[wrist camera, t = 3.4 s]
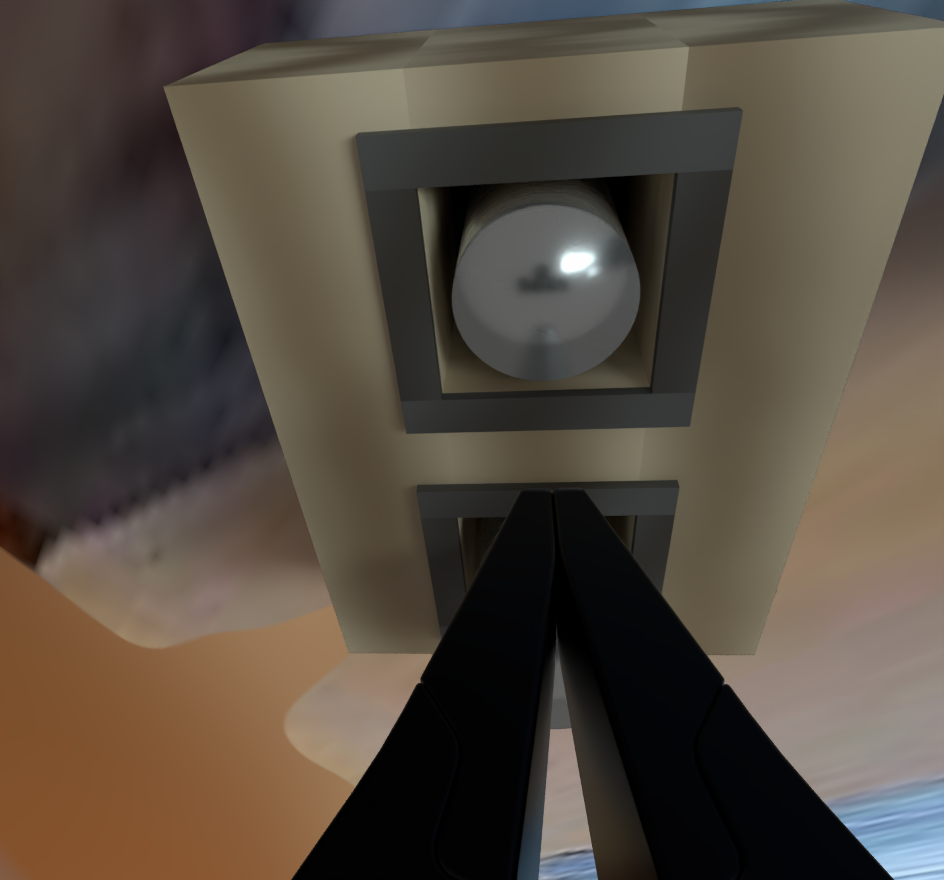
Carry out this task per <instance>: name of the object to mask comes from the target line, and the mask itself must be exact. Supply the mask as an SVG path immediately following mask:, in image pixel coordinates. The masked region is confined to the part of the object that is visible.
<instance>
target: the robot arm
mask: <svg viewBox="0 0 944 880" xmlns="http://www.w3.org/2000/svg"><path fill="white" fill-rule="evenodd" d="M556 632H557V644H558V652H559V659H560V666H561V671H562V677H563V683H564V688H565V694H566V700H567V706H568V711H569V717H570V723H571V728H572V734H573V740H574V745H575V751H576V757H577V762H578V768H579V774H580V779H581V785H582V791H583V797H584V802H585V808H586V814H587V819H588V825H589V831H590V836H591V842H592V848H593V853H594V859H595V865H596V870H597V876H598V880H894V879H893V878H892V877H891V876H890V875H889V874H888V872H887V871H886V870H885V869H884V868H883V867H882V866H881V865H880V864H879V863H878V861H877V860H876V859H875V858H874V857H873V856H872V855H871V854H870V853H869V852H868V850H867V849H866V848H865V847H864V846H863V845H862V844H861V843H860V842H859V840H858V839H857V838H856V837H855V836H854V835H853V834H852V833H851V832H850V831H849V829H848V828H847V827H846V826H845V825H844V824H843V823H842V822H841V821H840V820H839V818H838V817H837V816H836V815H835V814H834V813H833V812H832V811H831V810H830V808H829V807H828V806H827V805H826V804H825V803H824V802H823V801H822V800H821V798H820V797H819V796H818V795H817V794H816V793H815V792H814V790H813V789H812V788H811V787H810V786H809V785H808V783H807V782H806V781H805V780H804V779H803V778H802V777H801V775H800V774H799V773H798V772H797V771H796V770H795V769H794V767H793V766H792V765H791V764H790V763H789V762H788V760H787V759H786V758H785V757H784V756H783V755H782V753H781V752H780V751H779V750H778V748H777V747H776V746H775V745H774V743H773V742H772V741H771V739H770V738H769V737H768V736H767V734H766V733H765V732H764V731H763V729H762V728H761V727H760V725H759V724H758V723H757V722H756V720H755V719H754V718H753V717H752V715H751V714H750V713H749V711H748V710H747V709H746V707H745V706H744V705H743V703H742V702H741V700H740V699H739V698H738V696H737V695H736V694H735V692H734V691H733V690H732V688H731V687H730V686H729V685H728V684H724V678H723V676H722V675H721V674H720V672H719V671H718V670H717V668H716V667H715V666H714V664H713V663H712V662H711V660H710V659H709V658H708V656H707V655H706V653H705V652H704V651H703V649H702V648H701V647H700V645H699V644H698V643H697V641H696V640H695V639H694V637H693V636H692V635H691V633H690V632H689V630H688V629H687V628H686V626H685V625H684V624H683V622H682V621H681V620H680V618H679V617H678V616H677V614H676V613H675V612H674V610H673V609H672V607H671V606H670V605H669V603H668V602H667V601H666V599H665V598H664V597H663V595H662V594H661V593H660V591H659V590H658V589H657V587H656V586H655V585H654V583H653V582H652V580H651V579H650V578H649V576H648V575H647V574H646V572H645V571H644V570H643V568H642V567H641V566H640V564H639V563H638V562H637V560H636V559H635V557H634V556H633V555H632V553H631V552H630V551H629V549H628V548H627V547H626V545H625V544H624V543H623V541H622V540H621V539H620V537H619V536H618V534H617V533H616V532H615V530H614V529H613V528H612V526H611V525H610V524H609V522H608V521H607V520H606V518H605V517H604V516H603V514H602V513H601V511H600V510H599V509H598V507H597V506H596V505H595V503H594V502H593V501H592V499H591V498H590V497H589V495H588V494H587V493H586V491H585V490H584V489H582V488H556V489H554V490H553V492H551V490H550V489H548V488H532V489H523V490H521V491H520V493H519V494H518V496H517V498H516V500H515V502H514V504H513V505H512V507H511V509H510V511H509V513H508V515H507V517H506V519H505V520H504V522H503V524H502V526H501V528H500V530H499V532H498V534H497V535H496V537H495V539H494V541H493V543H492V545H491V547H490V549H489V550H488V552H487V554H486V556H485V558H484V560H483V562H482V564H481V565H480V567H479V569H478V571H477V573H476V575H475V577H474V579H473V580H472V582H471V584H470V586H469V588H468V590H467V592H466V594H465V595H464V597H463V599H462V601H461V603H460V605H459V607H458V609H457V610H456V612H455V614H454V616H453V618H452V620H451V622H450V624H449V625H448V627H447V629H446V631H445V633H444V635H443V637H442V639H441V640H440V642H439V644H438V646H437V648H436V650H435V652H434V654H433V655H432V657H431V659H430V661H429V663H428V665H427V667H426V669H425V670H424V672H423V674H422V676H421V678H420V681H421V683H418V684H417V685H416V687H415V689H414V690H413V692H412V694H411V696H410V698H409V700H408V702H407V704H406V705H405V707H404V709H403V711H402V713H401V714H400V716H399V718H398V720H397V721H396V723H395V725H394V727H393V728H392V730H391V732H390V734H389V735H388V737H387V739H386V740H385V742H384V744H383V746H382V747H381V749H380V751H379V752H378V754H377V755H376V757H375V758H374V760H373V761H372V763H371V764H370V766H369V767H368V769H367V770H366V772H365V774H364V775H363V777H362V778H361V780H360V781H359V783H358V784H357V786H356V787H355V789H354V790H353V792H352V793H351V795H350V796H349V798H348V799H347V800H346V802H345V803H344V805H343V806H342V808H341V809H340V810H339V812H338V813H337V815H336V816H335V818H334V819H333V821H332V822H331V823H330V825H329V826H328V828H327V829H326V831H325V832H324V834H323V835H322V836H321V838H320V839H319V840H318V842H317V843H316V845H315V846H314V848H313V849H312V851H311V852H310V853H309V855H308V856H307V858H306V859H305V861H304V862H303V863H302V865H301V866H300V868H299V869H298V871H297V872H296V873H295V875H294V876H293V878H292V879H291V880H538V877H539V865H540V852H541V840H542V827H543V814H544V802H545V789H546V776H547V764H548V751H549V739H550V726H551V713H552V701H553V688H554V676H555V662H556Z"/></svg>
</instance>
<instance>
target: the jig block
mask: <svg viewBox="0 0 944 880" xmlns="http://www.w3.org/2000/svg"><path fill="white" fill-rule="evenodd" d="M164 90H165V93H166V96H167V99H168V102H169V105H170V108H171V111H172V115H173V118H174V121H175V124H176V127H177V130H178V133H179V136H180V139H181V142H182V145H183V148H184V151H185V154H186V157H187V160H188V163H189V166H190V170H191V173H192V176H193V179H194V182H195V185H196V188H197V191H198V194H199V197H200V200H201V203H202V206H203V209H204V212H205V215H206V218H207V222H208V225H209V228H210V231H211V234H212V237H213V240H214V243H215V246H216V249H217V252H218V255H219V258H220V261H221V264H222V267H223V270H224V274H225V277H226V280H227V283H228V286H229V289H230V292H231V295H232V298H233V301H234V304H235V307H236V310H237V313H238V316H239V319H240V322H241V326H242V329H243V332H244V335H245V338H246V341H247V344H248V347H249V350H250V353H251V356H252V359H253V362H254V365H255V368H256V371H257V374H258V377H259V381H260V384H261V387H262V390H263V393H264V396H265V399H266V402H267V405H268V408H269V411H270V414H271V417H272V420H273V423H274V426H275V429H276V433H277V436H278V439H279V442H280V445H281V448H282V451H283V454H284V457H285V460H286V463H287V466H288V469H289V472H290V475H291V478H292V481H293V485H294V488H295V491H296V494H297V497H298V500H299V503H300V506H301V509H302V512H303V515H304V518H305V521H306V524H307V527H308V530H309V533H310V536H311V540H312V543H313V546H314V549H315V552H316V555H317V558H318V561H319V564H320V567H321V570H322V573H323V576H324V579H325V582H326V585H327V588H328V592H329V595H330V598H331V601H332V604H333V607H334V610H335V613H336V616H337V619H338V622H339V625H340V628H341V631H342V634H343V637H344V640H345V644H346V646H347V650H348V653H405V654H434V652H435V650H436V648H437V646H438V644H439V642H440V640H441V639H442V637H443V635H444V633H445V631H446V629H447V627H448V625H449V624H450V622H451V620H452V618H453V616H454V614H455V612H456V610H457V609H458V607H459V605H460V603H461V601H462V599H463V597H464V595H465V594H466V592H467V590H468V588H469V586H470V584H471V582H472V580H473V579H474V577H475V575H476V573H477V571H478V569H479V567H480V556H481V538H482V521H483V517H507V515H508V513H509V511H510V509H511V507H512V505H513V504H514V502H515V500H516V498H517V496H518V494H519V493H520V491H521V490H523V489H532V488H548V489H550V490H551V492H553V490H554V489H556V488H582V489H584V490H585V491H586V493H587V494H588V495H589V497H590V498H591V499H592V501H593V502H594V503H595V505H596V506H597V507H598V509H599V510H600V511H601V513H602V514H603V516H605V518H606V520H607V521H608V522H609V524H610V525H611V526H612V528H613V529H614V530H615V532H616V533H617V534H618V536H619V537H620V539H621V540H622V541H623V543H624V544H625V545H626V547H627V548H628V549H629V551H630V552H631V553H632V555H633V556H634V557H635V559H636V560H637V562H638V563H639V564H640V566H641V567H642V568H643V570H644V571H645V572H646V574H647V575H648V576H649V578H650V579H651V580H652V582H653V583H654V585H655V586H656V587H657V589H658V590H659V591H660V593H661V594H662V595H663V597H664V598H665V599H666V601H667V602H668V603H669V605H670V606H671V607H672V609H673V610H674V612H675V613H676V614H677V616H678V617H679V618H680V620H681V621H682V622H683V624H684V625H685V626H686V628H687V629H688V630H689V632H690V633H691V635H692V636H693V637H694V639H695V640H696V641H697V643H698V644H699V645H700V647H701V648H702V649H703V651H704V652H705V653H706V655H755V652H756V649H757V646H758V643H759V640H760V637H761V634H762V631H763V628H764V625H765V622H766V619H767V616H768V613H769V611H770V608H771V605H772V602H773V599H774V596H775V593H776V590H777V587H778V584H779V581H780V578H781V575H782V572H783V569H784V566H785V563H786V560H787V557H788V554H789V551H790V548H791V545H792V542H793V539H794V536H795V533H796V530H797V528H798V525H799V522H800V519H801V516H802V513H803V510H804V507H805V504H806V501H807V498H808V495H809V492H810V489H811V486H812V483H813V480H814V477H815V474H816V471H817V468H818V465H819V462H820V459H821V456H822V453H823V450H824V448H825V445H826V442H827V439H828V436H829V433H830V430H831V427H832V424H833V421H834V418H835V415H836V412H837V409H838V406H839V403H840V400H841V397H842V394H843V391H844V388H845V385H846V382H847V379H848V376H849V373H850V370H851V368H852V365H853V362H854V359H855V356H856V353H857V350H858V347H859V344H860V341H861V338H862V335H863V332H864V329H865V326H866V323H867V320H868V317H869V314H870V311H871V308H872V305H873V302H874V299H875V296H876V293H877V290H878V288H879V285H880V282H881V279H882V276H883V273H884V270H885V267H886V264H887V261H888V258H889V255H890V252H891V249H892V246H893V243H894V240H895V237H896V234H897V231H898V228H899V225H900V222H901V219H902V216H903V213H904V210H905V208H906V205H907V202H908V199H909V196H910V193H911V190H912V187H913V184H914V181H915V178H916V175H917V172H918V169H919V166H920V163H921V160H922V157H923V154H924V151H925V148H926V145H927V142H928V139H929V136H930V133H931V130H932V128H933V125H934V122H935V119H936V116H937V113H938V110H939V107H940V104H941V101H942V98H943V95H944V21H941V20H936V19H931V18H926V17H921V16H916V15H911V14H906V13H901V12H896V11H891V10H886V9H882V8H877V7H872V6H867V5H862V4H857V3H852V2H847V1H842V0H796V1H784V2H771V3H759V4H746V5H734V6H722V7H709V8H697V9H685V10H672V11H660V12H648V13H635V14H623V15H610V16H598V17H586V18H573V19H561V20H549V21H536V22H524V23H512V24H499V25H487V26H474V27H462V28H450V29H437V30H425V31H413V32H400V33H388V34H375V35H363V36H351V37H338V38H326V39H314V40H301V41H289V42H277V43H264V44H261V45H259V46H257V47H254V48H252V49H250V50H247V51H245V52H243V53H240V54H238V55H236V56H233V57H231V58H229V59H227V60H224V61H222V62H220V63H217V64H215V65H213V66H210V67H208V68H206V69H203V70H201V71H199V72H196V73H194V74H192V75H190V76H187V77H185V78H183V79H180V80H178V81H176V82H173V83H171V84H169V85H166V86H164ZM616 176H626V184H625V198H624V212H623V230H624V233H625V236H626V239H627V241H628V244H629V247H630V250H631V252H632V255H633V258H634V261H635V263H636V267H637V270H638V274H639V280H640V302H639V308H638V312H637V315H636V318H635V321H634V323H633V325H632V327H631V330H630V331H629V333H628V335H627V336H626V338H625V339H624V341H623V342H622V343H621V344H620V346H619V347H618V348H617V349H616V350H615V351H614V352H613V353H612V354H611V355H610V356H609V357H608V358H606V359H605V360H604V361H602V362H601V363H600V364H598V365H596V366H595V367H593V368H591V369H590V370H587V371H585V372H583V373H581V374H578V375H575V376H572V377H569V378H564V379H559V380H551V381H532V380H525V379H520V378H516V377H512V376H509V375H507V374H504V373H502V372H500V371H498V370H496V369H494V368H492V367H491V366H489V365H488V364H486V363H485V362H483V361H482V360H481V359H480V358H479V357H478V356H476V355H475V354H474V352H473V351H472V350H471V349H470V348H469V347H468V345H467V344H466V342H465V341H464V339H463V338H462V336H461V334H460V332H459V330H458V328H457V325H456V322H455V318H454V314H453V308H452V289H453V282H454V276H455V271H456V265H457V255H456V244H455V233H454V222H453V211H452V201H451V190H450V186H464V185H481V184H497V183H514V182H531V181H548V180H565V179H582V178H599V177H616Z"/></svg>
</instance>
